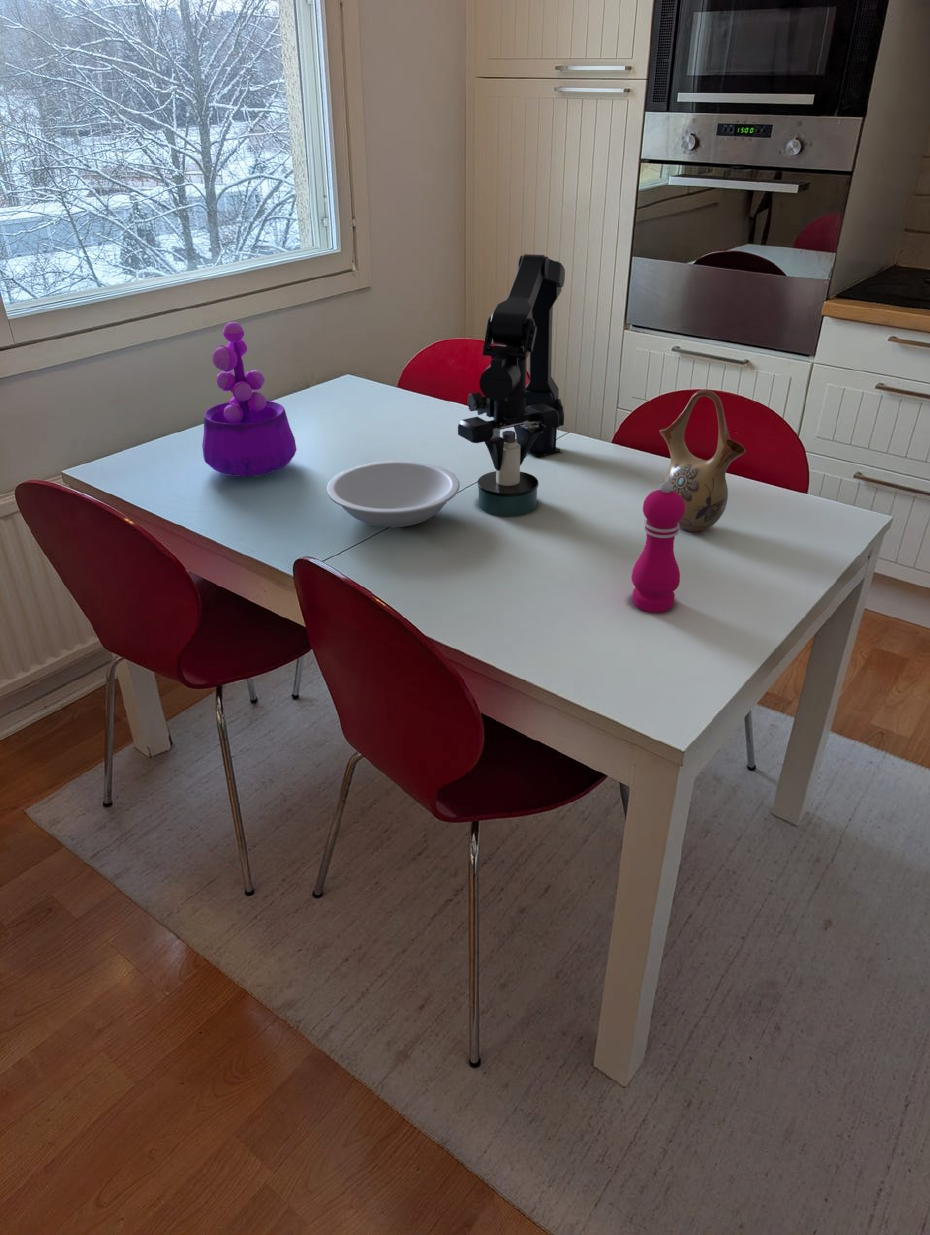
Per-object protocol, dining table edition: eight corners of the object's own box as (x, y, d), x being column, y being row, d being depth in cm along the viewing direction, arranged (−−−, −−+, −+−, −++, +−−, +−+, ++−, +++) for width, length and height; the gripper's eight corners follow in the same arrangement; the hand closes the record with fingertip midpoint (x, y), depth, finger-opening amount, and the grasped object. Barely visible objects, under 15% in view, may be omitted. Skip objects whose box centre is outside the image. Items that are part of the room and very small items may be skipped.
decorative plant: (269, 492, 175) (249, 337, 160) (188, 481, 180) (161, 329, 165) (313, 459, 190) (298, 314, 175) (237, 449, 195) (216, 308, 180)
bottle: (511, 475, 170) (512, 427, 165) (524, 482, 166) (525, 434, 162) (491, 480, 168) (492, 431, 163) (504, 487, 164) (505, 438, 160)
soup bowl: (305, 535, 158) (302, 500, 155) (364, 485, 178) (362, 454, 174) (430, 555, 151) (429, 520, 148) (477, 501, 170) (477, 469, 167)
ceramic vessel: (743, 533, 158) (767, 394, 145) (715, 549, 152) (737, 406, 140) (665, 506, 168) (681, 374, 155) (637, 521, 162) (651, 385, 150)
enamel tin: (515, 488, 176) (515, 466, 174) (549, 507, 168) (550, 485, 165) (466, 500, 171) (466, 478, 169) (499, 521, 163) (499, 498, 160)
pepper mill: (624, 592, 140) (635, 472, 130) (669, 590, 140) (684, 470, 130) (635, 615, 134) (648, 492, 123) (682, 613, 134) (699, 490, 124)
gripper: (526, 365, 168) (524, 445, 176) (441, 381, 159) (443, 463, 167) (562, 380, 159) (558, 462, 168) (474, 397, 151) (474, 483, 159)
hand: (508, 467), depth 166 cm, fingers closed on bottle, 4 cm apart
